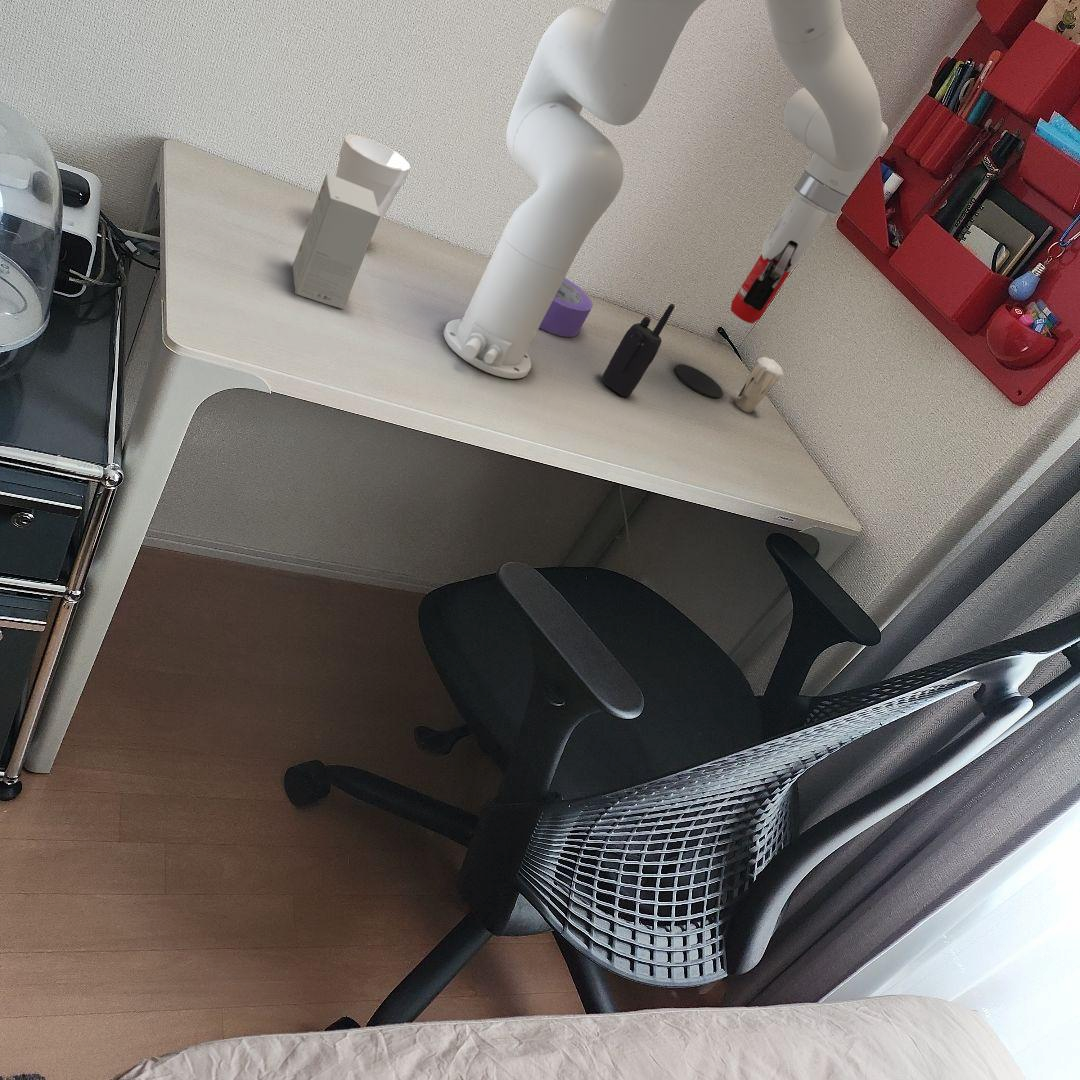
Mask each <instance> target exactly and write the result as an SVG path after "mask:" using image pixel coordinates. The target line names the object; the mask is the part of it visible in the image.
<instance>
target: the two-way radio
mask: <svg viewBox="0 0 1080 1080" xmlns="http://www.w3.org/2000/svg"><path fill="white" fill-rule="evenodd" d="M675 307H676V305H675V304H674V303H669V305H668V306H667V308H666V310H665V311H664V312H663V314H662V316H661V317H660V319H659V321H658V322H657V324H656V325H655V327H654V328H653V330H652V329H651V328H649V325H650V323H651V318H650V317H649V316H644V317H643V318H642V320H641V321H640V322H638V323H633V324H632V325H631V326H630V327H629V328H628V330H626V332H625V334H624V336H623V337H622V339H621V341H620V342H619V344H618V346H617V348H616V350H615V351H614V354H612V357H611V359H609V360H610V361H609V362H608V365H607V366H606V369H605V370H604V372H603V373H602V377H601V380H602V381H603V383H604V384H605V385H606V386H607V387H609V388H610V389H611V390H612V391H614V392H615V393H617V394H618V395H619V396H621V397H630V396H631V395H632V394H633V392H634V390H635V389H636V387H637V386H638V385H639V383H640V381H641V380H642V378H643V377H644V375H645V374H646V372H647V370H648V368H649V366H650V365H651V364H652V363H653V361H654V359H655V357H656V355H657V353H658V352H659V349H660V346H661V345H662V338H661V336H660V334H661V333H662V331H663V329H664V327H665V326H666V324H667V322H668V320H669V319H670V316H671V315H672V313H673V311H674V309H675Z"/></svg>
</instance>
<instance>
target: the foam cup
mask: <svg viewBox="0 0 1080 1080" xmlns="http://www.w3.org/2000/svg"><path fill="white" fill-rule="evenodd" d="M338 156H339V160H338V164H337V169H336V173H335V176H336V177H338V178H341V179H343V180H346V181H348V182H351V183H353V184H356V185H358V186H361V187H363V188H366V189H368V190H371V191H373V192H374V195H375V199H376V203H377V207H378V210H379V214H380V219H379V221H378V223H377V226H376V228H375V231H374V233H373V236H374V234H375V233H376V231H377V230H378V228H379V226H380V224H381V222H382V221H383V219H384V217H385V215H386V213H387V211H388V210H389V208H390V206H391V204H392V203H393V201H394V200H395V197H396V196H397V194H398V192H399V191H400V189H401V187H402V186H403V185H405V182H406V180H407V177H408V175H409V172H410V170H411V166H410V165H411V164H410V163H409V162H408V160H406V158H405V157H404V156H403V155H401V154H400V153H398V152H397V151H395V150H394V149H392V148H391V147H389V146H387V145H385V144H383V143H381V142H379V141H377V140H374V139H372V138H369V137H367V136H364V135H357V134H348V135H345V136H344V139H343V142H342V145H341V147H340V150H339V155H338Z"/></svg>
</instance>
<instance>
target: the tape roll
mask: <svg viewBox="0 0 1080 1080" xmlns="http://www.w3.org/2000/svg"><path fill="white" fill-rule="evenodd" d="M593 306H594V305H593V301H592V299H591V298H590V296H589V295H588V294H587V293H586V292H585V291H584V290H583V289H582V288H581V287H579V285H577V284H576V283H574V282H572V281H571V280H570V279H568V278H566V277H565V278H564V280H563V282H562V284H561V286H560V288H559V290H558V292H557V293H556V295H555V297H554V299H553V301H552V303H551V305H550V307H549V309H548V311H547V313H546V315H545V317H544V318H543V320H542V322H541V324H540V326H539V328H538V329H541V330H542V331H545V332H547V333H549V334H552V335H555V336H559V337H564V338H573V337H576V336H577V335H578V334H579V333H580V331H581V329H582V327H583V325H584V323H585V322H586V320H587V318H588V316H589V314H590V312H591V311H592V309H593Z"/></svg>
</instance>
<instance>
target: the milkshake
mask: <svg viewBox="0 0 1080 1080" xmlns="http://www.w3.org/2000/svg"><path fill="white" fill-rule="evenodd" d="M792 368H794V365H792V366H790V367H789V368H787V369H786V370H784V371H783V369H782V366H781V365H780V364H779V363H778V362H777V361H776V360H774V359H773V358H769V357H768V356H762V357H760V358H758V359H757V361H756V363H755V365H754V366H753V369H752V370H751V372H750V374H749V376H748V378H747V380H746V381H745V383H744V385H743V387H742V389H741V390H740V392H739V393H738V395H737V397H736V399H735V401H734V405H735V406H736V407H737V408H738V409H739V410H740V411H743V413H746V414H747V413H748V414H751V413H752V412H753V411H754V410H755V408H756V407H757V406H758V405H759V404H760V403H761V401H762V400H763V398H764V397H765V396H766V395H767V393H768V392H769V391H770V390H771V389H772V388H773V386H775V384H776V383H777V382H778V381H779V380H780V378H781V377H782V376H783V374H785V373H786V372H788V371H790V370H791V369H792Z"/></svg>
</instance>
